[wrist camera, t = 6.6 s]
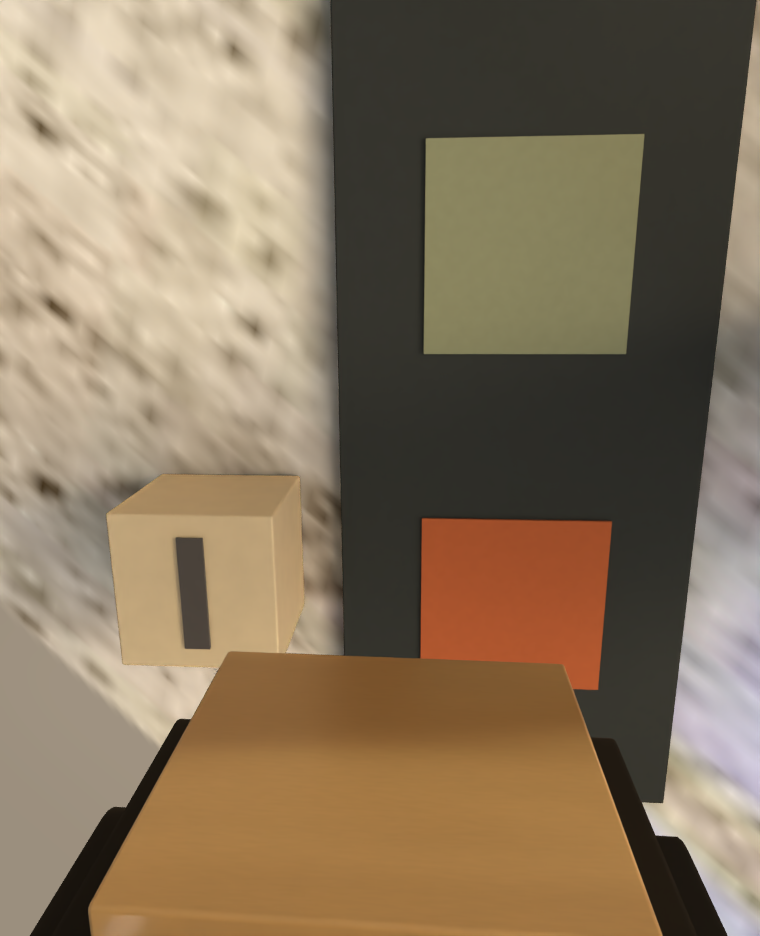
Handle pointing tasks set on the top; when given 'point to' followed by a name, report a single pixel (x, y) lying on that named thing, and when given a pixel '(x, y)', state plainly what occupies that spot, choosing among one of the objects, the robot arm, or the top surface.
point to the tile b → (207, 568)
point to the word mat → (532, 332)
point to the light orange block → (378, 809)
